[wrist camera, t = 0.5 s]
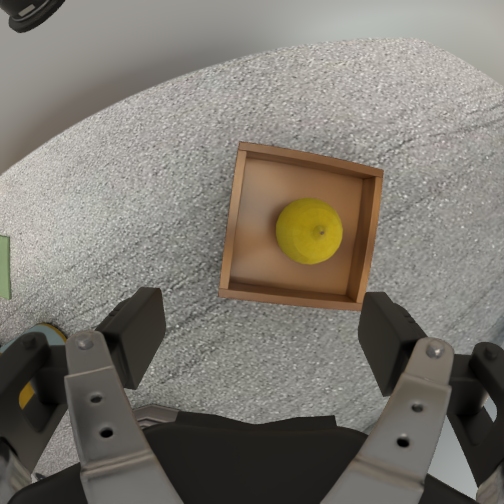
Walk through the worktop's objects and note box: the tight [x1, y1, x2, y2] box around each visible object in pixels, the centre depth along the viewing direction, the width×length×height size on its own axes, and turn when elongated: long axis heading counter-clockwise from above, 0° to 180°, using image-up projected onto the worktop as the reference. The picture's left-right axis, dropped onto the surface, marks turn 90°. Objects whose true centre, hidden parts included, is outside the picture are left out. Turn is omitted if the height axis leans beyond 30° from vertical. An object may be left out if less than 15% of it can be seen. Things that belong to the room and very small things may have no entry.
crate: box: [218, 141, 384, 311], centre depth 27 cm, size 14×14×4 cm
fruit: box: [276, 197, 343, 265], centre depth 24 cm, size 6×6×8 cm
